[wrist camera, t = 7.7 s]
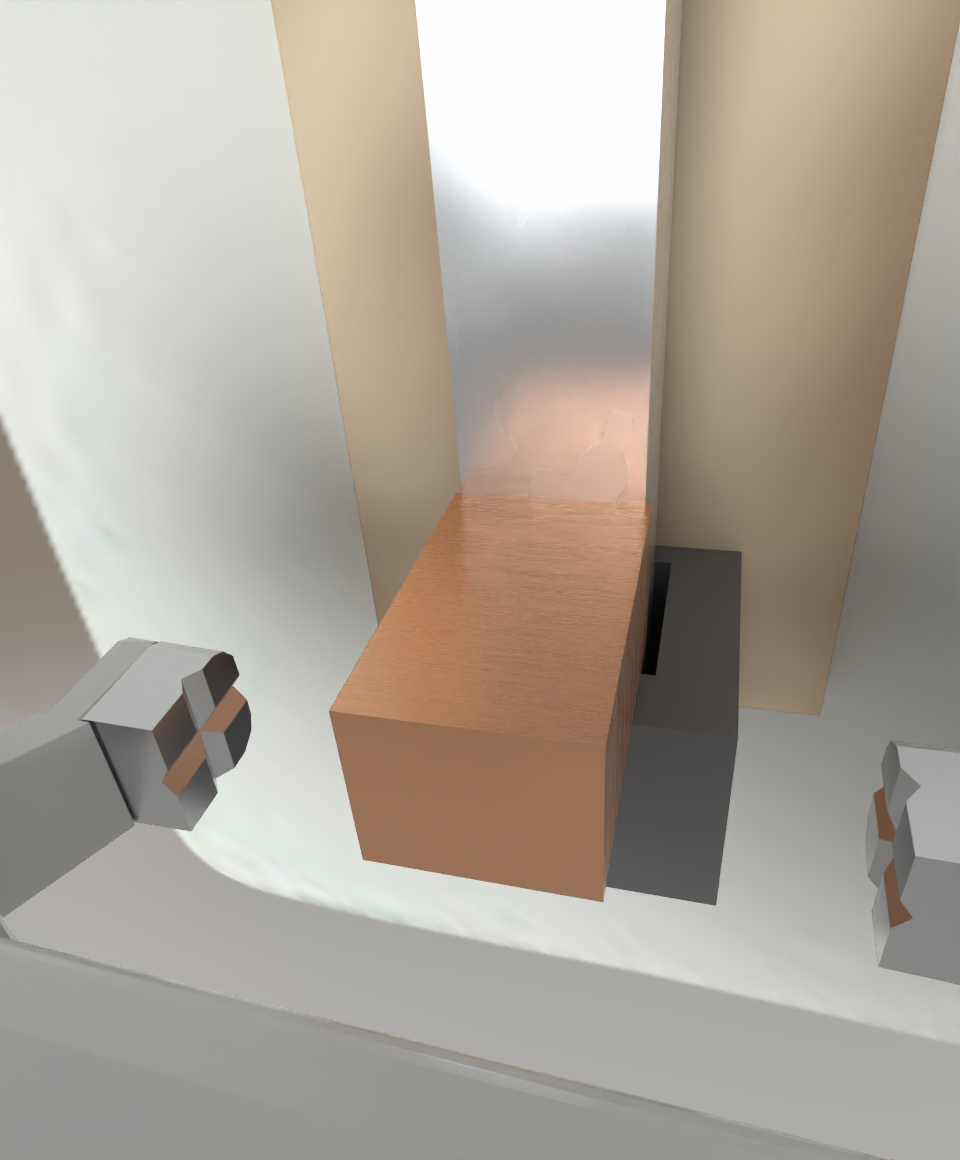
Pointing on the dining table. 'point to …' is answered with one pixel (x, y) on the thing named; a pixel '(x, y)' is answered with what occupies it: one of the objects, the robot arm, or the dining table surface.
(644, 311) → the bar
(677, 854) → the socket block
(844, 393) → the oak board
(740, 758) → the dining table surface
